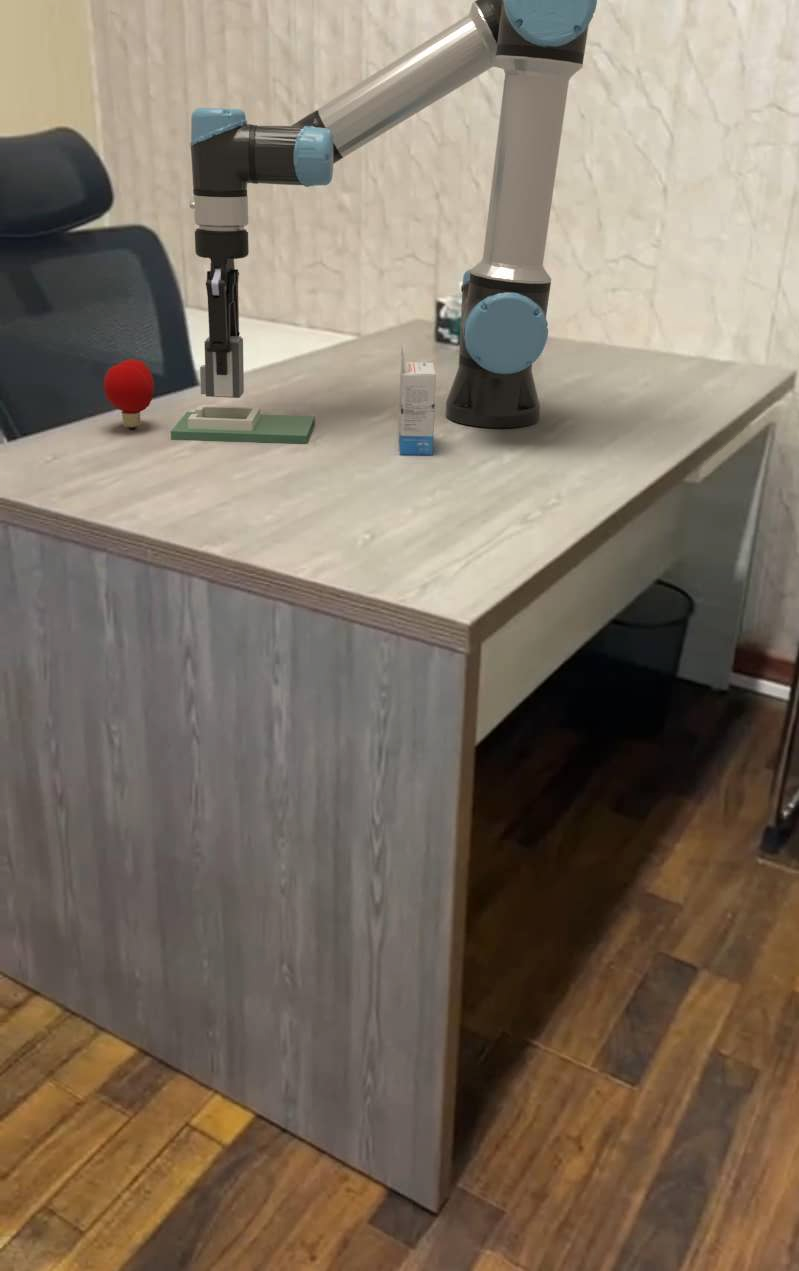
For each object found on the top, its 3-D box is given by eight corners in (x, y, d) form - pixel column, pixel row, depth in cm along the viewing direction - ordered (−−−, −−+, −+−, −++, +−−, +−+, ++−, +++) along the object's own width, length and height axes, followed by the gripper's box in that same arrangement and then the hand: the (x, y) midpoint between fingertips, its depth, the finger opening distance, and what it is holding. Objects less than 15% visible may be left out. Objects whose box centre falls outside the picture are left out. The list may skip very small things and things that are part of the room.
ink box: (434, 456, 166) (438, 352, 160) (399, 455, 166) (402, 351, 160) (430, 440, 174) (434, 340, 168) (397, 439, 174) (400, 340, 168)
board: (314, 423, 181) (314, 406, 180) (306, 443, 170) (306, 425, 169) (187, 419, 182) (186, 402, 181) (171, 439, 171) (170, 421, 170)
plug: (243, 392, 176) (243, 336, 172) (239, 397, 172) (238, 341, 169) (204, 390, 176) (202, 334, 172) (199, 396, 172) (197, 339, 169)
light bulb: (141, 438, 171) (137, 370, 167) (97, 435, 172) (91, 367, 168) (165, 423, 179) (161, 358, 175) (123, 420, 180) (118, 355, 176)
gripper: (206, 221, 172) (211, 379, 182) (182, 232, 156) (190, 404, 166) (256, 223, 172) (259, 381, 181) (237, 234, 156) (242, 406, 166)
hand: (226, 392), depth 174 cm, fingers closed on plug, 4 cm apart
